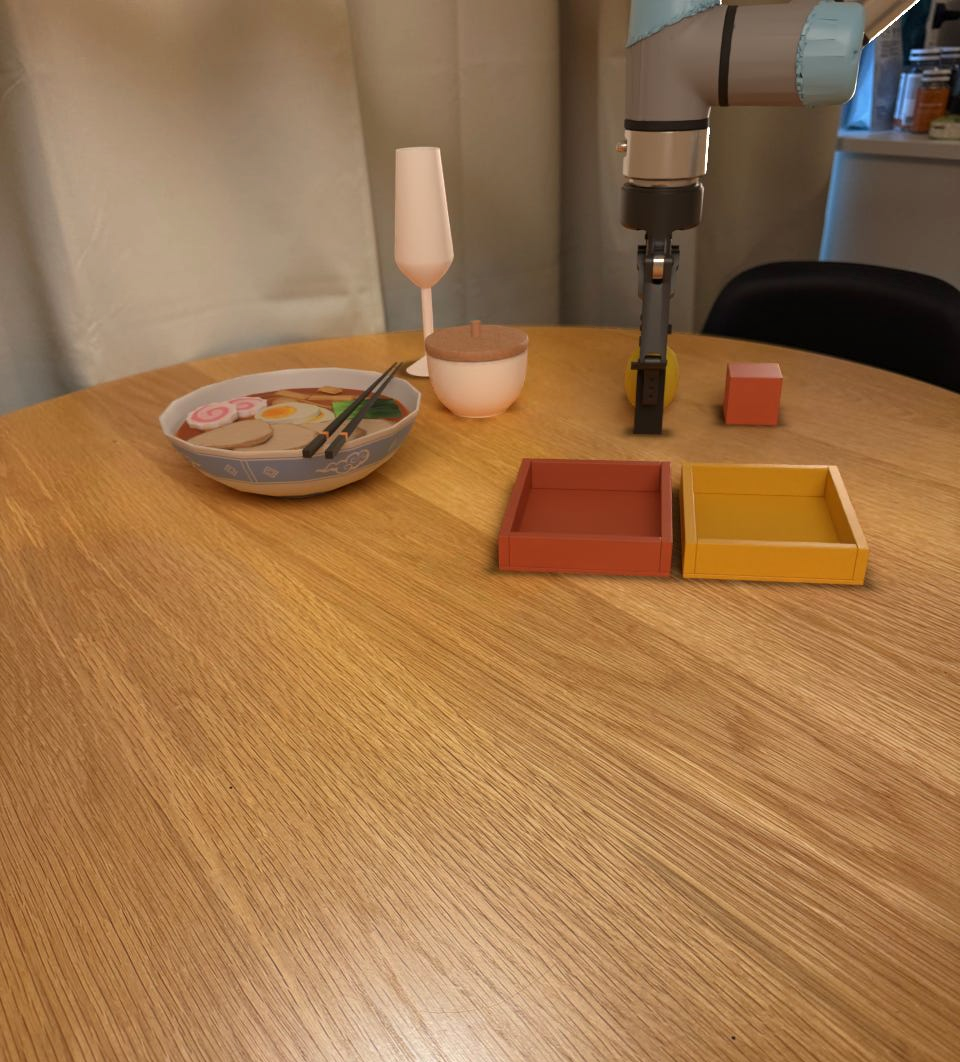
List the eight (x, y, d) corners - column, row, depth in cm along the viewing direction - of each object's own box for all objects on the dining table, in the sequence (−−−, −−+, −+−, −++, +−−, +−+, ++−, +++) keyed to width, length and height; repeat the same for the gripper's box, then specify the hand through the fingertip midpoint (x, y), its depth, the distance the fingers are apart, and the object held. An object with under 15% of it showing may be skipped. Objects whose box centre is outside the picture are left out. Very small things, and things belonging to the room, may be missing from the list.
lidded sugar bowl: (482, 435, 101) (478, 340, 96) (408, 414, 107) (401, 324, 102) (549, 407, 107) (550, 317, 102) (476, 389, 114) (473, 303, 109)
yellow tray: (831, 500, 84) (837, 465, 83) (862, 588, 71) (870, 549, 70) (679, 495, 86) (681, 461, 85) (682, 580, 73) (685, 542, 72)
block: (772, 411, 104) (778, 363, 101) (776, 427, 100) (783, 377, 97) (722, 410, 105) (727, 362, 102) (725, 426, 101) (730, 377, 98)
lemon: (663, 429, 100) (668, 349, 96) (613, 420, 103) (616, 342, 99) (685, 413, 104) (691, 335, 100) (636, 405, 107) (640, 329, 103)
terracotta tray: (668, 495, 86) (670, 461, 85) (669, 580, 73) (672, 541, 72) (523, 491, 88) (522, 457, 87) (498, 573, 75) (497, 535, 74)
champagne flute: (391, 374, 120) (373, 151, 107) (425, 360, 124) (412, 145, 112) (436, 382, 116) (423, 153, 104) (470, 367, 121) (461, 146, 108)
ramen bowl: (240, 431, 104) (227, 352, 100) (455, 440, 100) (451, 358, 95) (119, 535, 83) (96, 441, 79) (384, 552, 79) (375, 453, 75)
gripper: (625, 165, 102) (615, 380, 114) (616, 199, 83) (606, 454, 95) (700, 164, 101) (683, 382, 113) (709, 199, 82) (687, 456, 93)
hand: (648, 415), depth 104 cm, fingers open, 10 cm apart
